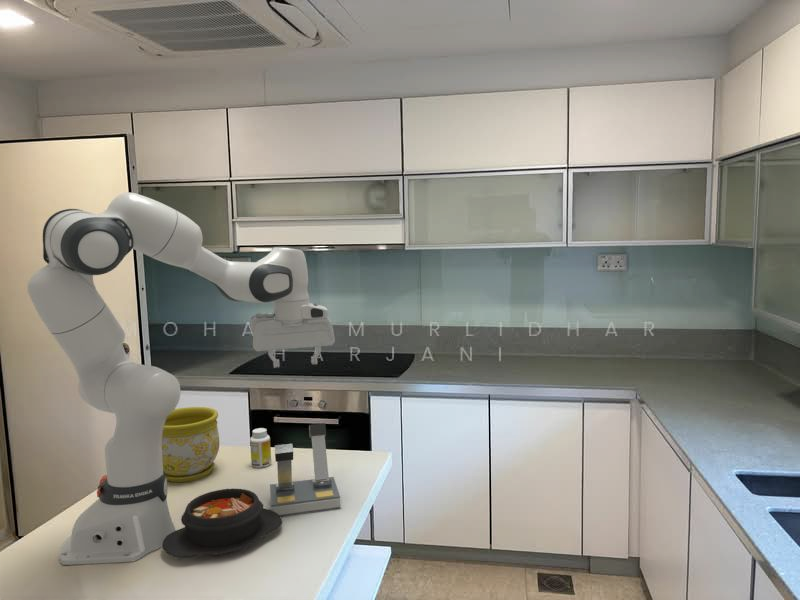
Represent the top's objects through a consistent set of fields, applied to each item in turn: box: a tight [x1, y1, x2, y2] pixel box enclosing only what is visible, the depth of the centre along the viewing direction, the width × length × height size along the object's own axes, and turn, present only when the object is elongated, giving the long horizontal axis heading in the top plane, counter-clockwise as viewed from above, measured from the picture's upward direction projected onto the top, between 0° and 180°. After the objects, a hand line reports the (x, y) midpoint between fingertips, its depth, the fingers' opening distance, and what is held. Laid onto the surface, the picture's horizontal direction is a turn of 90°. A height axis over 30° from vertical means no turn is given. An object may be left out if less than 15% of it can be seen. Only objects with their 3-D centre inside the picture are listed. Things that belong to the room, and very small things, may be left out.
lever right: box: [308, 422, 332, 488], centre depth 149 cm, size 4×2×15 cm, turn 104°
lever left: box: [274, 443, 295, 493], centre depth 141 cm, size 4×2×15 cm
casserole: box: [162, 488, 283, 559], centre depth 129 cm, size 25×19×8 cm
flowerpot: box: [162, 406, 220, 483], centre depth 165 cm, size 18×18×16 cm
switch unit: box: [269, 476, 341, 517], centre depth 146 cm, size 16×12×3 cm
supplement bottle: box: [249, 427, 272, 469], centre depth 170 cm, size 6×6×10 cm
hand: (295, 365), depth 151 cm, fingers open, 8 cm apart
